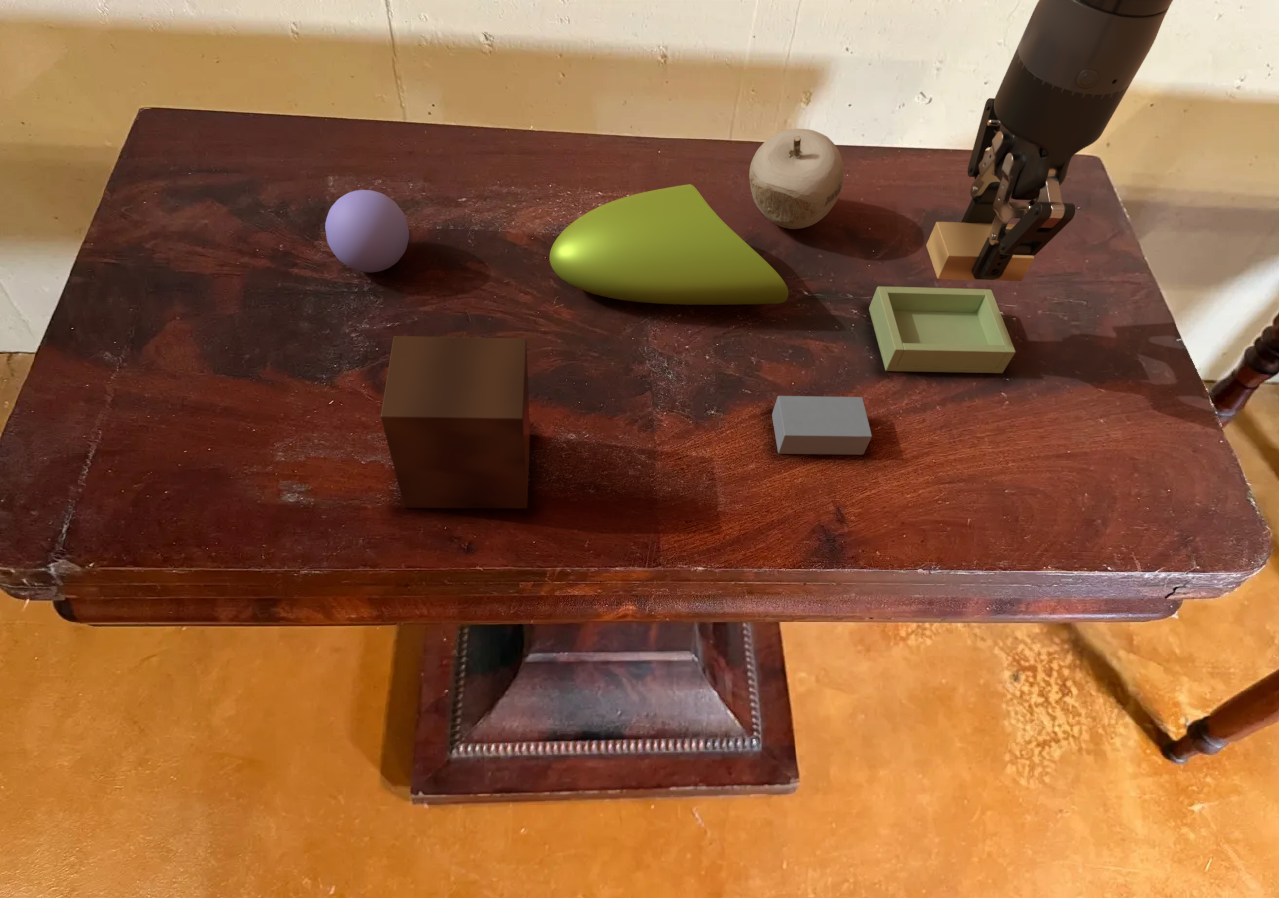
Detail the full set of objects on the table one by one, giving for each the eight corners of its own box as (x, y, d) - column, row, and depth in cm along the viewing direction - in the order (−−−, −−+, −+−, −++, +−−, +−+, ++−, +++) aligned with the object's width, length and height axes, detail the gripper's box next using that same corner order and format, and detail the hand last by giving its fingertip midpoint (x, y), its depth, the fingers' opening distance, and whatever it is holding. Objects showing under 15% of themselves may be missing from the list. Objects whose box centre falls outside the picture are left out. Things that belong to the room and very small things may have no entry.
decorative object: (834, 202, 90) (861, 115, 82) (822, 258, 85) (850, 170, 77) (749, 183, 91) (767, 94, 83) (732, 237, 86) (751, 148, 78)
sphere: (346, 297, 77) (329, 235, 71) (325, 246, 81) (307, 183, 75) (424, 277, 79) (414, 214, 74) (400, 228, 83) (389, 165, 77)
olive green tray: (979, 311, 82) (991, 289, 80) (1002, 373, 78) (1016, 352, 76) (868, 308, 81) (877, 286, 79) (885, 371, 77) (895, 349, 75)
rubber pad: (854, 415, 74) (862, 396, 72) (863, 454, 71) (872, 436, 69) (771, 414, 73) (777, 395, 71) (777, 454, 71) (784, 435, 69)
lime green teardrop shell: (765, 155, 78) (539, 178, 76) (796, 269, 73) (555, 296, 72) (752, 213, 85) (545, 235, 84) (779, 320, 80) (560, 347, 79)
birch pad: (1007, 247, 74) (1020, 223, 72) (1021, 281, 71) (1034, 258, 69) (925, 245, 73) (936, 221, 71) (937, 279, 71) (948, 255, 69)
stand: (530, 433, 70) (526, 338, 61) (527, 509, 66) (522, 418, 57) (414, 432, 69) (393, 335, 60) (404, 508, 65) (380, 416, 56)
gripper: (1174, 124, 54) (1047, 322, 68) (1094, 3, 62) (996, 201, 76) (1056, 119, 53) (953, 319, 67) (992, -3, 62) (911, 198, 75)
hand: (976, 255), depth 72 cm, fingers closed on birch pad, 4 cm apart
